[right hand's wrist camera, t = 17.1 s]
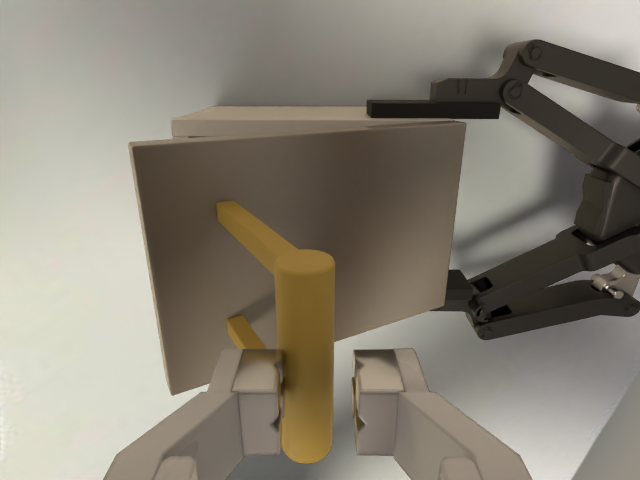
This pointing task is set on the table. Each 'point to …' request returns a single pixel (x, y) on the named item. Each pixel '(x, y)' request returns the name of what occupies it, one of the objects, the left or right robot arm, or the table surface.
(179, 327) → the lid
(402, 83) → the table surface
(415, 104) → the left robot arm
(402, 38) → the table surface
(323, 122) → the chest
